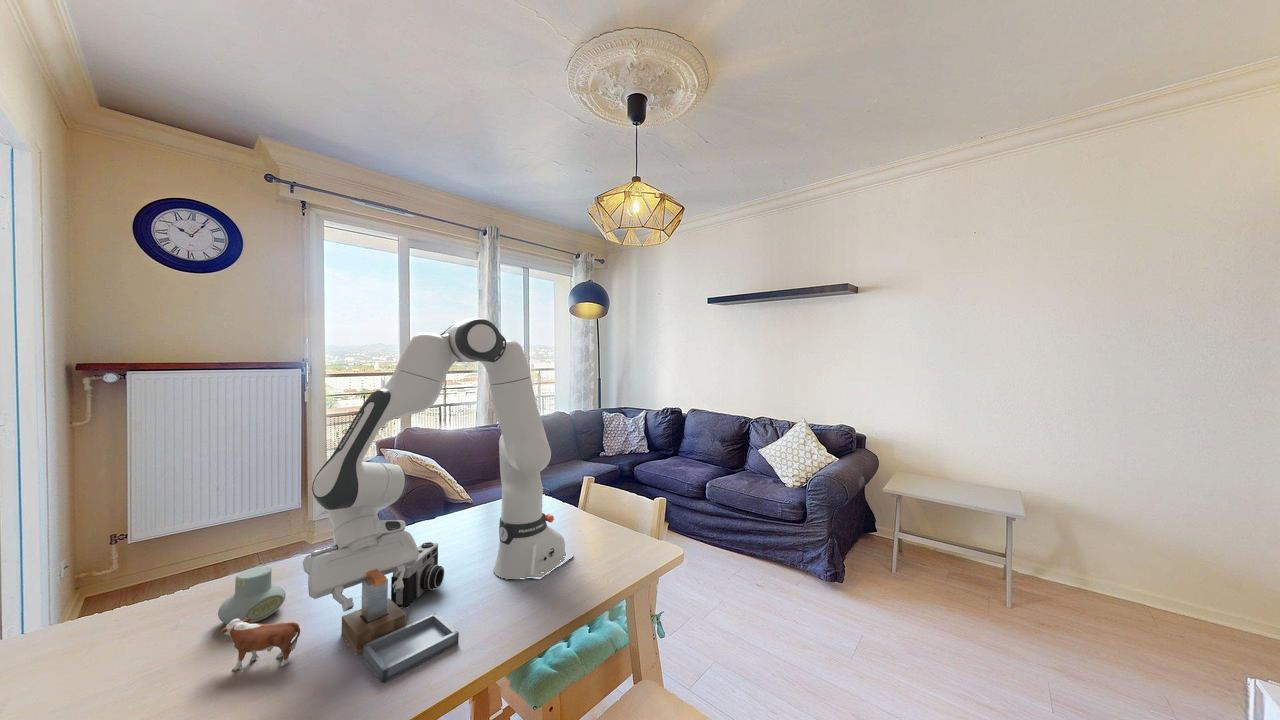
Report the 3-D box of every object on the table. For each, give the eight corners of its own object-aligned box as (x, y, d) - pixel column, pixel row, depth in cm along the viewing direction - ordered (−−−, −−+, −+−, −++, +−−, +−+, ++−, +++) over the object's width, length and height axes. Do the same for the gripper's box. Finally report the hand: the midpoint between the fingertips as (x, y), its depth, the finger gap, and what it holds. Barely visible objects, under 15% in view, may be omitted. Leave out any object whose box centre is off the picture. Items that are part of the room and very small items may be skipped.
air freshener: (233, 637, 86) (234, 588, 86) (209, 627, 89) (210, 580, 89) (292, 608, 97) (293, 564, 97) (269, 600, 99) (270, 557, 99)
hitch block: (388, 615, 95) (389, 597, 95) (405, 632, 89) (406, 614, 89) (341, 635, 88) (341, 616, 88) (356, 655, 82) (357, 635, 82)
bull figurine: (230, 655, 81) (231, 613, 81) (304, 653, 82) (305, 611, 82) (209, 672, 77) (210, 628, 77) (288, 670, 78) (289, 626, 78)
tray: (435, 623, 92) (435, 612, 92) (458, 643, 86) (458, 632, 86) (362, 657, 81) (362, 645, 81) (382, 683, 75) (383, 670, 75)
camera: (418, 610, 97) (418, 566, 97) (384, 607, 98) (383, 564, 98) (455, 580, 110) (455, 541, 110) (424, 577, 112) (424, 539, 112)
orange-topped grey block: (377, 624, 92) (379, 566, 92) (388, 636, 88) (390, 575, 88) (358, 632, 89) (360, 572, 89) (369, 645, 85) (371, 582, 85)
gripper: (304, 547, 85) (317, 615, 78) (411, 518, 100) (429, 573, 94) (298, 562, 87) (310, 629, 81) (403, 532, 103) (419, 586, 97)
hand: (375, 599), depth 88 cm, fingers open, 8 cm apart
